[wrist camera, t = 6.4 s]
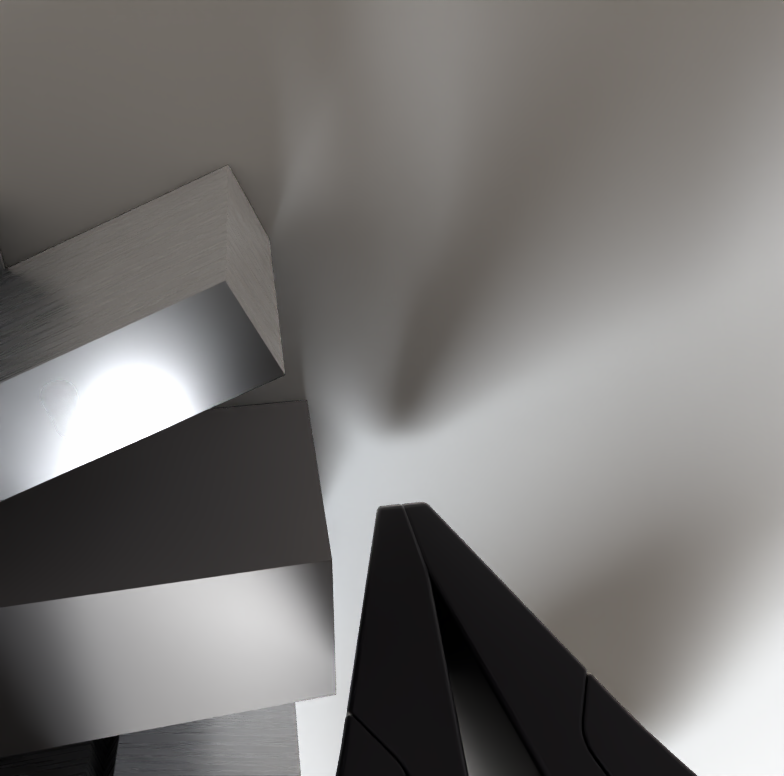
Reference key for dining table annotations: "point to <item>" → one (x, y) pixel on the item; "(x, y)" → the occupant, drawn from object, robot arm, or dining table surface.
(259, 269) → the housing
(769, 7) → the dining table surface
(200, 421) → the plug
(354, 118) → the dining table surface
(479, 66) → the dining table surface
